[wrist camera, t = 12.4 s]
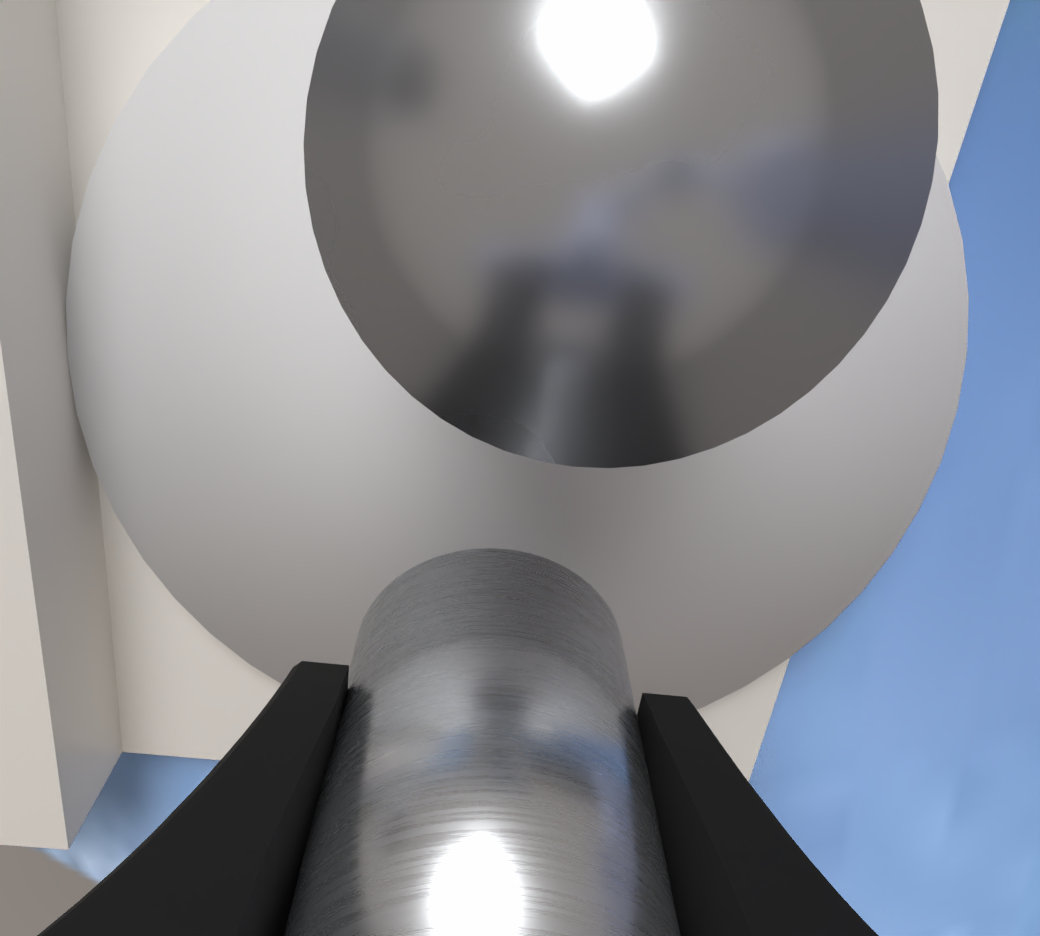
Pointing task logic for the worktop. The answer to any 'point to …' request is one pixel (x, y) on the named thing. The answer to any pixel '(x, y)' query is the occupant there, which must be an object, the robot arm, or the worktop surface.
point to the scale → (353, 421)
